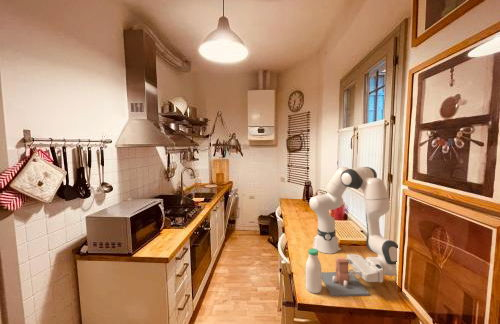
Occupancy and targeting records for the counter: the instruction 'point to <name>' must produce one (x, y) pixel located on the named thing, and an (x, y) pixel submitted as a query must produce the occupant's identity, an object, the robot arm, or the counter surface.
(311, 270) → the milk bottle
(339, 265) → the terracotta post
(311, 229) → the counter surface
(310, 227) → the counter surface
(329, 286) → the peg plate
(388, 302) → the counter surface
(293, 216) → the counter surface
